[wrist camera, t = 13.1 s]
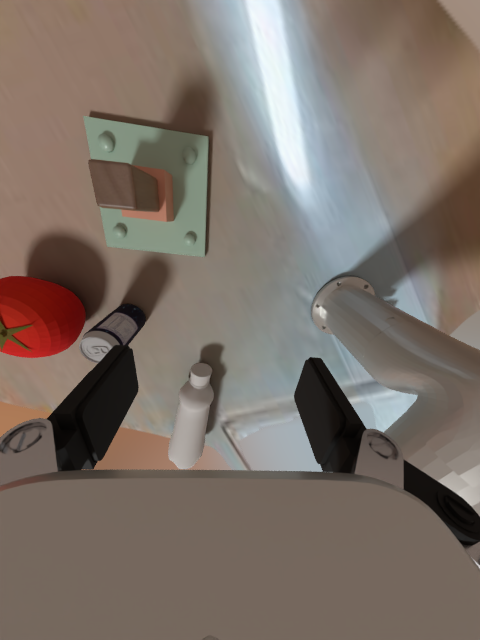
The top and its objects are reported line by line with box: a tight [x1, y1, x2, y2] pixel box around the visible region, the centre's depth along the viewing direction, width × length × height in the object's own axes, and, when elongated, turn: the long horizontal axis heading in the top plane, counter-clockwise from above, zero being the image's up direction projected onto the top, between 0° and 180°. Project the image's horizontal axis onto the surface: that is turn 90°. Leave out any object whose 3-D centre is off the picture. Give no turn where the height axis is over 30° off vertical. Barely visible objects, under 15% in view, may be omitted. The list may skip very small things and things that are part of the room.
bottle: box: [168, 363, 214, 469], centre depth 49 cm, size 9×9×30 cm
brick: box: [121, 165, 174, 222], centre depth 28 cm, size 6×6×4 cm
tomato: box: [0, 276, 86, 358], centre depth 33 cm, size 13×14×12 cm
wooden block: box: [88, 159, 160, 212], centre depth 23 cm, size 4×4×8 cm
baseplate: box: [83, 116, 209, 257], centre depth 30 cm, size 16×16×2 cm
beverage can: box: [79, 304, 146, 363], centre depth 34 cm, size 6×6×12 cm
